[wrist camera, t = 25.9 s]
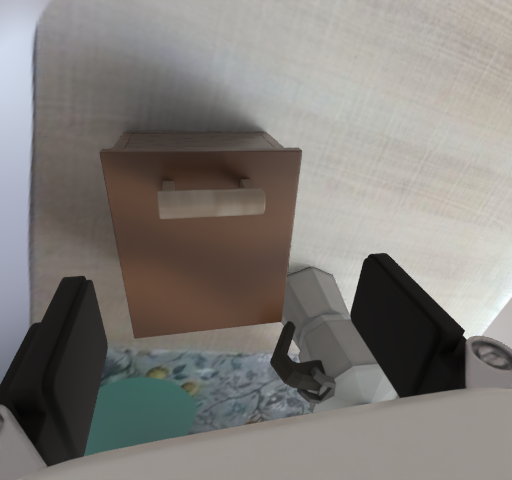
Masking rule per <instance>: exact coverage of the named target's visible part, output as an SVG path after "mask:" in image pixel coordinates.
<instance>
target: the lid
mask: <svg viewBox="0 0 512 480" xmlns="http://www.w3.org/2000/svg"><path fill="white" fill-rule="evenodd" d="M100 157H101V163H102V168H103V173H104V179H105V184H106V189H107V195H108V200H109V205H110V211H111V216H112V221H113V227H114V232H115V238H116V243H117V248H118V254H119V259H120V264H121V270H122V275H123V280H124V286H125V291H126V296H127V302H128V307H129V312H130V318H131V323H132V328H133V334H134V338H135V339H136V338H144V337H153V336H162V335H170V334H179V333H188V332H196V331H205V330H214V329H222V328H231V327H240V326H248V325H257V324H266V323H274V322H281V321H282V315H283V306H284V298H285V290H286V281H287V273H288V265H289V256H290V248H291V240H292V232H293V223H294V215H295V207H296V198H297V190H298V182H299V173H300V165H301V157H302V150H300V149H299V148H154V149H102V150H101V151H100Z"/></svg>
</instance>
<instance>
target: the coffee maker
mask: <svg viewBox="0 0 512 480" xmlns="http://www.w3.org/2000/svg"><path fill="white" fill-rule="evenodd" d="M281 322H282V324H283V325H284V327H283V330H282V332H281V335H280V338H279V340H278V343H277V345H276V348H275V351H274V353H273V356H272V358H271V361H270V363H271V365H272V367H273V368H274V369H275V371H276V372H277V374H278V375H279V376H280V378H281V379H282V381H283V382H284V383H285V384H287V385H289V386H291V387H293V388H297V389H298V390H297V392H299V394H300V395H301V396H302V397H303V398H304V399H305V400H307V401H308V402H309V403H310V407H311V412H312V413H317V412H323V411H328V410H334V409H340V408H346V407H352V406H358V405H363V404H369V403H375V402H381V401H387V400H393V399H399V398H400V397H399V396H398V394H397V393H396V391H395V390H394V388H393V386H392V385H391V383H390V382H389V380H388V379H387V377H386V375H385V374H384V372H383V371H382V369H381V367H380V366H379V364H378V363H377V361H376V360H375V358H374V356H373V355H372V353H371V352H370V350H369V349H368V347H367V345H366V344H365V342H364V341H363V339H362V338H361V336H360V334H359V333H358V331H357V330H356V328H355V327H354V325H353V323H352V321H351V318H350V315H349V312H348V310H347V308H346V305H345V303H344V300H343V298H342V296H341V293H340V291H339V288H338V286H337V284H336V281H335V279H334V277H333V275H331V274H328V273H326V272H323V271H321V270H319V269H316V268H314V267H310V268H307V269H304V270H301V271H299V272H296V273H293V274H290V275H287V281H286V290H285V298H284V306H283V315H282V321H281ZM292 339H293V340H294V342H295V343H296V345H297V347H298V348H299V350H300V352H299V355H298V356H299V360H300V363H296V362H293V361H292V360H291V359H290V357H289V356H288V355H287V353H288V350H289V347H290V344H291V341H292Z"/></svg>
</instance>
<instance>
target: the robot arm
mask: <svg viewBox="0 0 512 480" xmlns="http://www.w3.org/2000/svg"><path fill="white" fill-rule="evenodd" d="M350 317H351V321H352V323H353V325H354V327H355V328H356V330H357V331H358V333H359V334H360V336H361V338H362V339H363V341H364V342H365V344H366V345H367V347H368V349H369V350H370V352H371V353H372V355H373V356H374V358H375V360H376V361H377V363H378V364H379V366H380V367H381V369H382V371H383V372H384V374H385V375H386V377H387V379H388V380H389V382H390V383H391V385H392V386H393V388H394V390H395V391H396V393H397V394H398V396H399V397H400V398H399V399H393V400H387V401H381V402H375V403H369V404H363V405H358V406H352V407H346V408H340V409H334V410H328V411H323V412H317V413H311V414H305V415H300V416H294V417H288V418H283V419H277V420H271V421H266V422H260V423H254V424H249V425H243V426H237V427H232V428H226V429H221V430H215V431H210V432H204V433H199V434H193V435H188V436H182V437H177V438H171V439H166V440H160V441H156V442H150V443H145V444H140V445H136V446H130V447H125V448H120V449H115V450H110V451H105V452H101V453H96V454H92V455H88V456H84V453H85V449H86V444H87V439H88V435H89V431H90V426H91V422H92V417H93V413H94V408H95V404H96V399H97V395H98V390H99V386H100V382H101V377H102V373H103V368H104V364H105V359H106V355H107V339H106V335H105V330H104V326H103V322H102V318H101V314H100V310H99V306H98V302H97V298H96V293H95V289H94V285H93V282H92V280H86V278H85V277H84V276H75V277H64V278H63V279H62V280H61V282H60V284H59V286H58V288H57V290H56V293H55V295H54V297H53V299H52V301H51V303H50V305H49V307H48V309H47V311H46V313H45V315H44V317H43V319H42V321H41V322H39V323H34V324H33V325H32V326H31V327H30V328H29V330H28V332H27V334H26V336H25V338H24V340H23V342H22V344H21V346H20V348H19V350H18V352H17V353H16V355H15V357H14V359H13V361H12V363H11V365H10V367H9V369H8V371H7V373H6V375H5V377H4V379H3V381H2V383H1V384H0V480H512V350H511V349H510V348H509V347H507V346H506V345H504V344H503V343H501V342H499V341H497V340H494V339H492V338H489V337H484V336H473V337H470V338H469V339H466V338H465V337H464V336H463V334H464V332H465V330H464V329H463V328H462V327H461V326H460V325H459V324H458V323H457V322H456V321H455V320H454V319H453V318H452V317H451V316H450V315H449V314H448V313H447V312H446V311H445V310H444V309H443V308H442V307H440V306H439V305H438V304H437V303H436V302H435V301H434V300H433V299H432V298H431V297H430V296H429V295H428V294H427V293H426V292H425V291H424V290H423V289H422V288H421V287H420V286H419V285H418V284H417V283H416V282H415V281H414V280H413V279H412V278H411V277H410V276H409V275H408V274H407V273H406V272H405V271H404V270H403V269H402V268H401V267H400V266H399V265H398V264H397V263H396V262H395V261H394V260H393V259H392V258H391V257H390V256H389V255H388V254H386V253H379V254H370V255H369V256H368V258H366V259H365V260H364V262H363V266H362V270H361V274H360V278H359V282H358V285H357V289H356V293H355V297H354V301H353V305H352V309H351V314H350ZM83 456H84V457H83Z"/></svg>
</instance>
